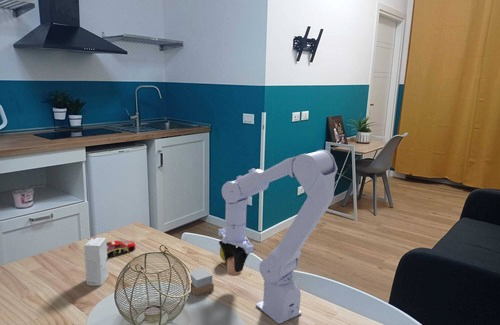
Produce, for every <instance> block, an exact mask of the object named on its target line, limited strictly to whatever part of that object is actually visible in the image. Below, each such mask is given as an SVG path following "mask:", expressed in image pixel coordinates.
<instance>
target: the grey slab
mask: <svg viewBox="0 0 500 325" xmlns="http://www.w3.org/2000/svg"><path fill="white" fill-rule="evenodd" d="M189 272H190V275H191V280H192V283H191V284H192V285H193V286H194V287H196V288H200V287H203V286H206V285H209V284H212V283H213V274H211V272H209V271H208V270H207V269H206V268H204V267H202V268H199V269H195V270H191V271H189Z"/></svg>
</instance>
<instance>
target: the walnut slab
mask: <svg viewBox="0 0 500 325" xmlns="http://www.w3.org/2000/svg"><path fill="white" fill-rule="evenodd" d="M214 287H215V283H214V282H212V284H209V285H206V286H203V287H200V288H196V287H194V286H193V285H192V284H191V293H190V294H191V295H192V296H193V295H194V296H196V297H199V296H201V295H205V294H208V293H210V292H213V291H215V290H214ZM194 296H193V297H194Z"/></svg>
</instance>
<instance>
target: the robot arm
mask: <svg viewBox="0 0 500 325" xmlns="http://www.w3.org/2000/svg"><path fill="white" fill-rule="evenodd" d="M337 172H338V166H337V164H336V161H335V157H334V156H333V154H332V153H331V152H329V151H328V150H325V149H318V150H316V151H314V152H309V153H302V154H298V155H297V156H293V157H289V158H286V159H283V161H281V162H279V163H277V164H274V165H272V166H271V167H269V168H267V169H265V170H262V169H260V168H257V169H256V168H251V169H249V170H248V173H246V174H244V175H238V176H236V179H235V180H231V181H230V180H229V181H226V182H225V183H224V184H223V185H222V187H221V195H222V198H223V199H224V201H225V217H224V218H225V220H224V222H225V223H224V225H225V226H224V227H223V228H219V229H218V236H219V237H222V238H221V240H219V242H218V244H219V246H220V247H221V248H222V250H223V253H224V257H225V261H224V262H225V264H226V266H227V259H228V258H229V257H232V256H233V257H234V267H235V271H236V272H239V271H241V272H242V271H243V269H244V267H245V264H246V260H247V258H248V257H249V254H252V253H254V244H252V243H251V242H250V240H249V239H248V237H247V236H246V234H247V233H246V229H247V228H246V227H247V207H248V206H247V205H248V204H249V198H250V197H252V196H255V195H257V194H259V193H260V192H263V191H266V190H267V189H268V188H269V184H270V183H271V182H273V181H276V180H278V179H281V178H284V177H286V176H288V175H289V176H290V178H296V180H297V182H298V183H299V185H300V186H301V188H302V189H303V190H304V191H303V192H305V195H307V197H306V199H305V201H304V203H303V204H302V206H301V208H300V209H299V210H298V212H297V215H296V216H295V217H294V218H293V221H292V223H291V224H290V226H289V227H288V229H287V231H286V232H285V234H284V235H283V238H281V241H280V242H279V244H278V245H277V246H276V247H275V248H274V249H273V250H271V252H270V254H269V255H268V256H267V257H266V258H264V259H262V260H261V261H260V263H259V274H260V276H261V277H262V278H263V281H264V283H263V300H261V301H259V302H256V305H255V306H256V307H258V308H259V309H260V310H261V311H262V312H263V313H265V314H266V315H267V316H268V317H270V318H271V319H272V320H273V321H274V322H276V323H277V324H282V323H284V322H286V321H288V320H290V319H292V318H296V317H297V316H299V315H301V314H302V311H301V310H300V306H301V304H300V303H301V294H302V292H301V289H299V287H298V286H297V285H296V284H295V282H294V280H293V279H294V278H293V276H294V271H295V270H297V268H298V266H299V259H300V258H301V255H302V252H301V250H302V249H303V247H304V245H305V244H306V242H307V241H308V239H309V237H310V236H311V234H312V233H313V231H314V230H315V228H316V227H317V225H318V223H319V222H320V220H321V219H322V217H323V216H324V214H325V212H326V211H327V209H328V208H329V206H330V205H331V204H332V202H333V200H334V197H335V183H336V182H335V180H336V179H335V178H336V175H337Z"/></svg>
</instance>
